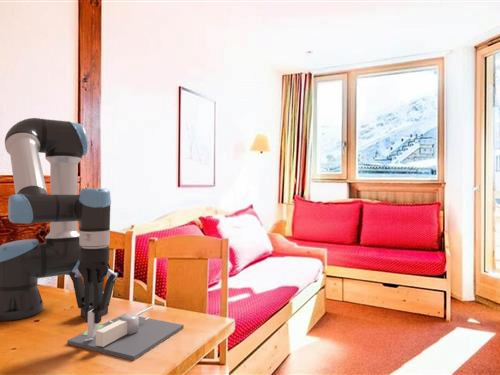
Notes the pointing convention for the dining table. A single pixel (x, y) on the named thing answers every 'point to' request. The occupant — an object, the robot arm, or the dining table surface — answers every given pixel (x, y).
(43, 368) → the dining table surface
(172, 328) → the dial board
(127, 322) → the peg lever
